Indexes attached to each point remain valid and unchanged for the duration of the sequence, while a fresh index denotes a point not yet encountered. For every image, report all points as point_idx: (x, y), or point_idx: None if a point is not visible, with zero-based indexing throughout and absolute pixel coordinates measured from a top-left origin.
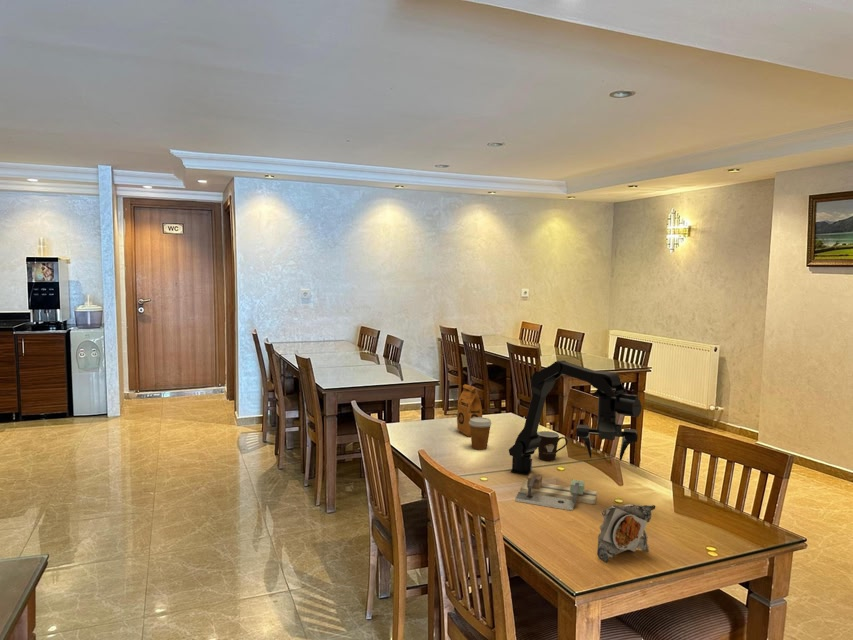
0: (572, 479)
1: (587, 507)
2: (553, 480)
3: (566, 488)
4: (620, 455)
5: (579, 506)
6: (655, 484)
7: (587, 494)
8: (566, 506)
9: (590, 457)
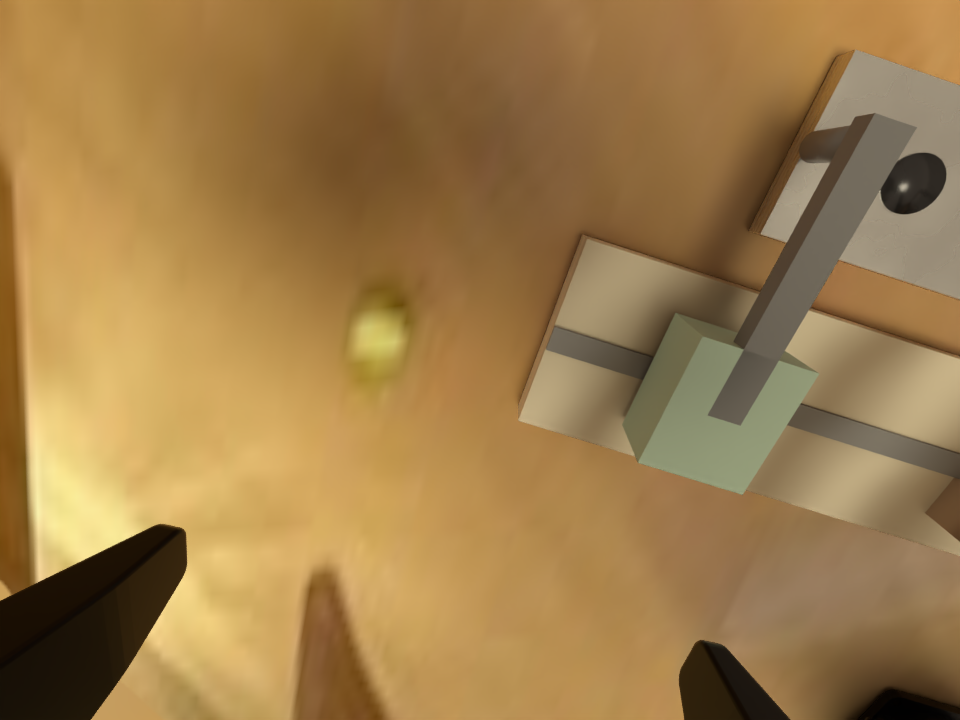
0: (741, 492)
1: (664, 164)
2: (741, 619)
3: None
4: (80, 603)
5: (727, 177)
6: None
7: (617, 347)
8: (908, 73)
9: (715, 644)
